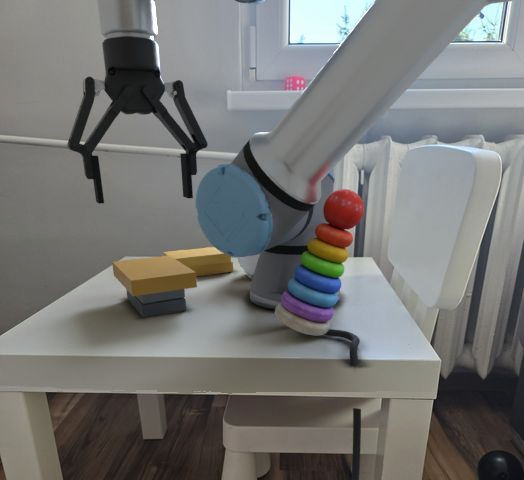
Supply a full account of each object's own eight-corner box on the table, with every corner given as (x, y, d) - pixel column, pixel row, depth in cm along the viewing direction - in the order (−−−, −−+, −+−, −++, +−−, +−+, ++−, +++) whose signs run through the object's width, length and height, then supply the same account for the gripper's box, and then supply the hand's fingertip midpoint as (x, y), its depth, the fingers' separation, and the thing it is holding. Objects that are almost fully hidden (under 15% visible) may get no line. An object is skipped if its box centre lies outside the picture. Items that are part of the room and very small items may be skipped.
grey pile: (187, 310, 80) (185, 286, 78) (142, 317, 77) (139, 292, 75) (167, 292, 89) (165, 271, 87) (126, 298, 86) (123, 276, 84)
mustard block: (196, 287, 77) (195, 272, 76) (132, 296, 73) (130, 280, 72) (170, 268, 89) (169, 255, 88) (113, 275, 85) (112, 261, 84)
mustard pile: (219, 264, 109) (218, 245, 108) (233, 271, 103) (232, 252, 101) (163, 271, 104) (161, 252, 102) (174, 279, 97) (172, 259, 96)
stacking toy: (328, 326, 72) (382, 201, 65) (324, 344, 65) (385, 205, 58) (277, 306, 73) (326, 179, 66) (268, 322, 65) (322, 180, 58)
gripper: (206, 49, 76) (213, 193, 85) (30, 37, 66) (57, 202, 75) (224, 41, 70) (229, 197, 78) (32, 27, 60) (62, 207, 69)
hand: (145, 200), depth 77 cm, fingers open, 13 cm apart
